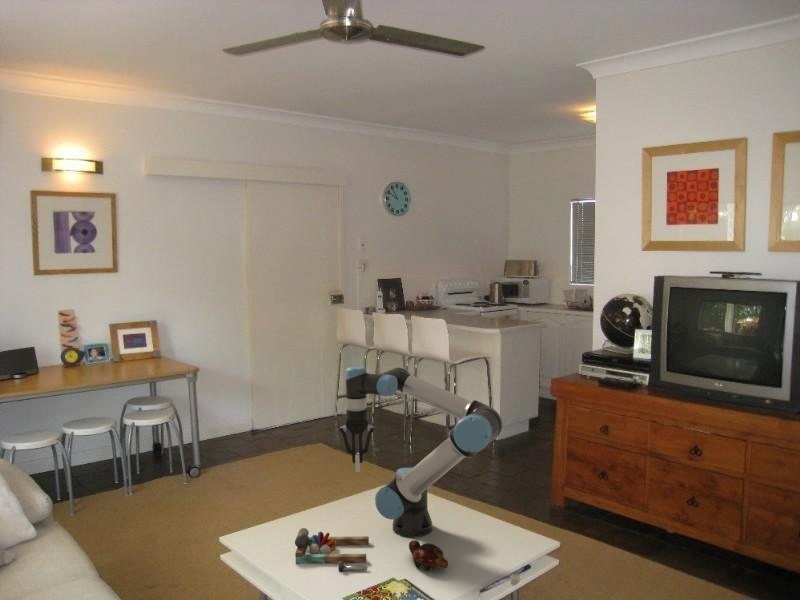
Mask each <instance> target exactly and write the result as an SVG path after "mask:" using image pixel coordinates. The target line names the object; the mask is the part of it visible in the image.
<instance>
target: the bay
mask: <svg viewBox="0 0 800 600" xmlns="http://www.w3.org/2000/svg"><path fill="white" fill-rule="evenodd" d="M311 537H312V536H309V530H308V529H307V528H306V527H302V528H300V529H299V530H298V532H297V535H296V538H295V541H294V545H295V547H296V550H295V565H338V562H339V561H343V562H344V565H350V564H353V565H354V564H355V565H356V564H361V565H364V564H367V561H368V559H367V553H330V554H321V553H319V554H311V553H309V554H306V553H307V549H308V547H309V544H310V543H311V542H312V540H311ZM329 538H334V539H335V541H336V547H341V546H344V547H345V546H347V547H348V546H349V547H352V546H353V547H354V546H356V547H358V546H360V547H361V546H369V543H370V540H369V539H370V537H369V536H366V535H365V536H329V537H328V539H329Z"/></svg>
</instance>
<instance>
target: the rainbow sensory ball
mask: <svg viewBox="0 0 800 600" xmlns="http://www.w3.org/2000/svg"><path fill="white" fill-rule="evenodd" d="M310 537H311V540H312V542H311V543H310V544H309V546H308V551H309V554H332V552H335V551H336V549H337V546H336V541H335V539H334V538H329V539H328V537H330V532H326V533H325V535H324V533H323V531H318V532H317V534H312V535H311V536H310Z"/></svg>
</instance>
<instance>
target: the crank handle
mask: <svg viewBox="0 0 800 600" xmlns="http://www.w3.org/2000/svg"><path fill="white" fill-rule="evenodd" d="M337 566H338V569H337V570H338V572H339V573H344V572H367V571H368V568H369V567H368V566H367V565H345V564H344V562H343V561H339V562H338V564H337Z"/></svg>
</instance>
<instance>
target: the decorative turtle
mask: <svg viewBox="0 0 800 600" xmlns="http://www.w3.org/2000/svg"><path fill="white" fill-rule="evenodd" d="M408 549H409V551H410V553H411V555H412V560H413V564H414V566H415V568H417V569H419V568H421V567H423V569H424V570H425V571H426V572H430V571H431V570H432V568H433V567H438V568H441V569H444V570H445V569H446V568H447V567H448V566H449V560H447V558H445V556H444V554H445V553H444V551H443V550H442V549H441V548H440V547H439V546H437V545H435V544H434V543H427V542H426V543H423V544H421V542H420V541H419V540H415V539H414V540H413V539H412V540H410V542H409V543H408Z"/></svg>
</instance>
